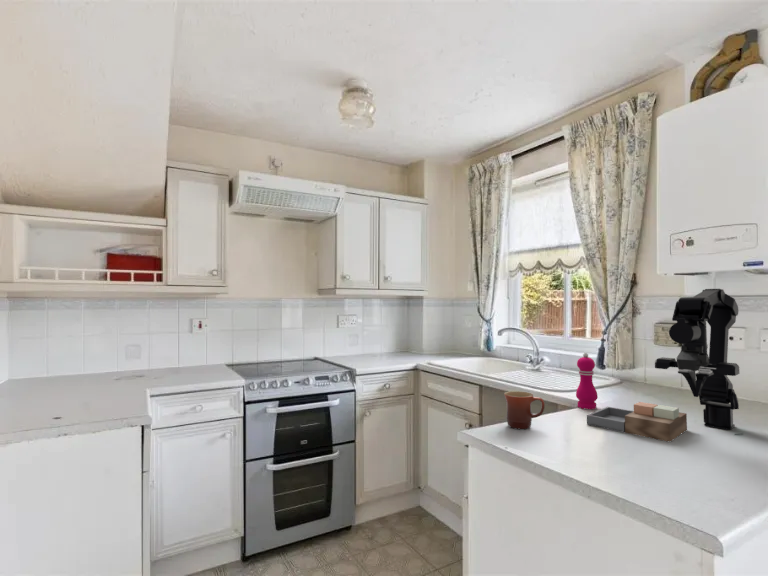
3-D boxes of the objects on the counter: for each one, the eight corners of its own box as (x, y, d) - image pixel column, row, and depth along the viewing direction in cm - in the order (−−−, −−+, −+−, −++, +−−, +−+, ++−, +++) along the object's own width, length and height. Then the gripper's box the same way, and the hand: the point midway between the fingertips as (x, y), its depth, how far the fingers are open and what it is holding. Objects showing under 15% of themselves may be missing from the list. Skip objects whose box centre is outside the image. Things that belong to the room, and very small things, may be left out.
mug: (503, 429, 131) (503, 396, 132) (505, 422, 140) (504, 390, 140) (545, 433, 127) (544, 398, 128) (544, 425, 136) (544, 392, 136)
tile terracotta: (658, 413, 130) (657, 404, 130) (652, 416, 127) (652, 407, 127) (639, 409, 134) (639, 401, 134) (633, 412, 130) (633, 404, 130)
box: (643, 422, 138) (643, 412, 138) (624, 432, 127) (623, 422, 127) (607, 415, 146) (607, 406, 146) (586, 424, 136) (586, 415, 136)
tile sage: (678, 416, 126) (678, 407, 126) (673, 419, 123) (673, 410, 123) (659, 413, 130) (659, 404, 130) (653, 416, 126) (653, 407, 126)
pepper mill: (600, 410, 153) (599, 354, 154) (578, 409, 155) (577, 354, 155) (594, 405, 160) (593, 351, 161) (574, 404, 162) (572, 351, 162)
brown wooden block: (687, 430, 129) (686, 413, 129) (669, 442, 118) (669, 423, 119) (644, 422, 138) (644, 406, 138) (625, 432, 127) (624, 415, 127)
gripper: (647, 341, 123) (649, 395, 122) (729, 345, 109) (731, 407, 108) (660, 338, 130) (662, 390, 130) (738, 342, 116) (740, 400, 115)
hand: (696, 396), depth 121 cm, fingers closed
